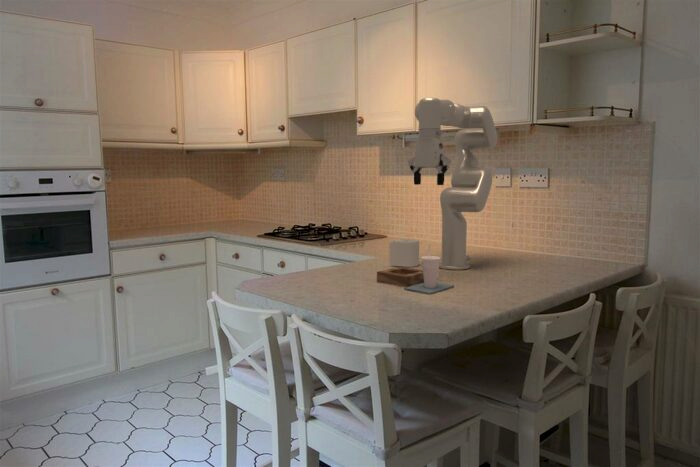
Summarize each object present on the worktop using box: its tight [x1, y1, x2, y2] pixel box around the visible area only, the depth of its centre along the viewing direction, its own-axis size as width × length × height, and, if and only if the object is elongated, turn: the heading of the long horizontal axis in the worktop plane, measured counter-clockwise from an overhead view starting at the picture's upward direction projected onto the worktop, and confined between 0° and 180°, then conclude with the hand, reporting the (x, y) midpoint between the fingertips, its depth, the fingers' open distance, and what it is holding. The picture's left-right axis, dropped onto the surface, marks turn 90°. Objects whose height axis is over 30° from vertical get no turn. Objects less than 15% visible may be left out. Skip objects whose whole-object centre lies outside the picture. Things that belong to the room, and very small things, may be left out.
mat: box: [403, 282, 455, 295], centre depth 176 cm, size 14×10×1 cm
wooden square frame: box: [376, 266, 424, 288], centre depth 186 cm, size 13×13×4 cm
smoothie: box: [420, 244, 442, 288], centre depth 175 cm, size 6×6×14 cm
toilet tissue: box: [388, 238, 420, 268], centre depth 218 cm, size 11×12×10 cm
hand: (428, 184), depth 188 cm, fingers open, 9 cm apart
